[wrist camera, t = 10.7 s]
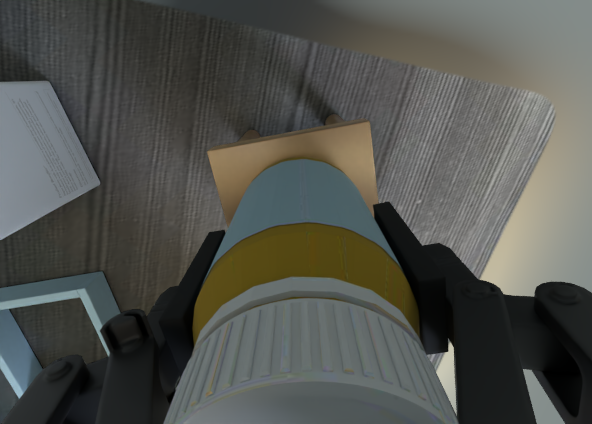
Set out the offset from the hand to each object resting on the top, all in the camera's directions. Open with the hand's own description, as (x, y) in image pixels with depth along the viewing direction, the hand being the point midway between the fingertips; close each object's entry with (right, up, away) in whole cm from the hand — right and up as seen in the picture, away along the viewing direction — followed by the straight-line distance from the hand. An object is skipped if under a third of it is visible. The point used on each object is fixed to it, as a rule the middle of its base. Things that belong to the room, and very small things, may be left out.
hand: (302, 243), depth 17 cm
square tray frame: (-23, -10, +19) cm, 32 cm away
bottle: (0, +1, +4) cm, 4 cm away
